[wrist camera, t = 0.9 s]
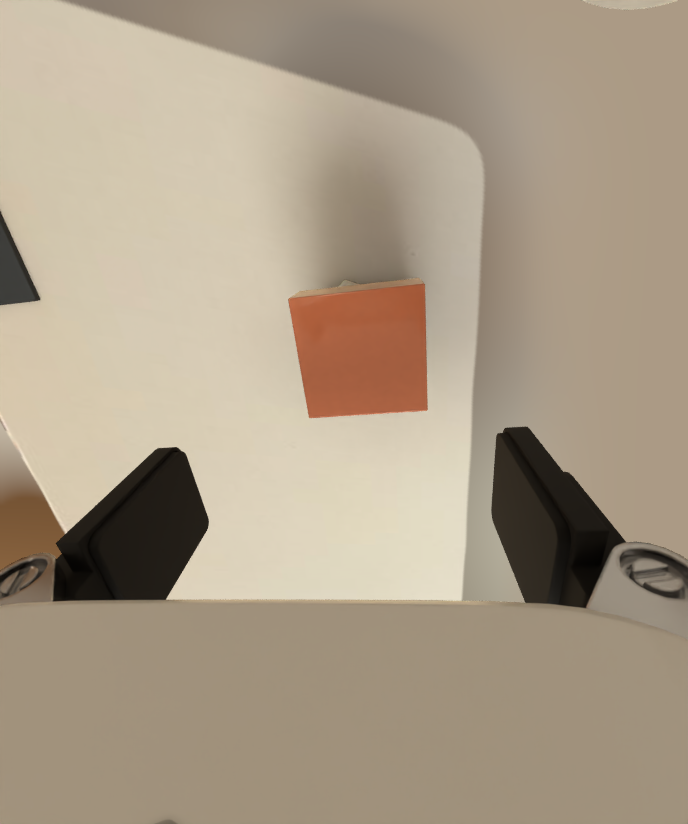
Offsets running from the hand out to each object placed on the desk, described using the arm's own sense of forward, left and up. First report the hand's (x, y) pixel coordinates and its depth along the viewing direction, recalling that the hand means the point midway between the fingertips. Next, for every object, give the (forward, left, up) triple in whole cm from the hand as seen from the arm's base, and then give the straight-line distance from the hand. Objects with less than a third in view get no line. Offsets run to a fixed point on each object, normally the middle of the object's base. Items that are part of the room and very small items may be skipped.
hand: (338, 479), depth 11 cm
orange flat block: (0, 0, -14) cm, 14 cm away
